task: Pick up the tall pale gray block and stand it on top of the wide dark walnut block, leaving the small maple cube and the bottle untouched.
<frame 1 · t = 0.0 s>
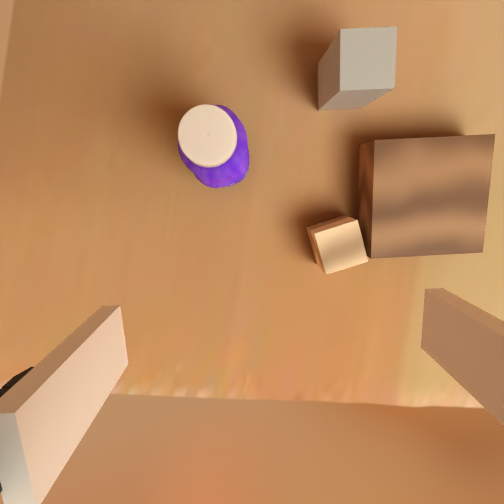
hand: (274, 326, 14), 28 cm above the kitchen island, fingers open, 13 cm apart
maple cube: (330, 239, 42), on the kitchen island
bottle: (222, 155, 40), on the kitchen island
walnut block: (408, 196, 42), on the kitchen island
pale gray block: (339, 86, 38), on the kitchen island
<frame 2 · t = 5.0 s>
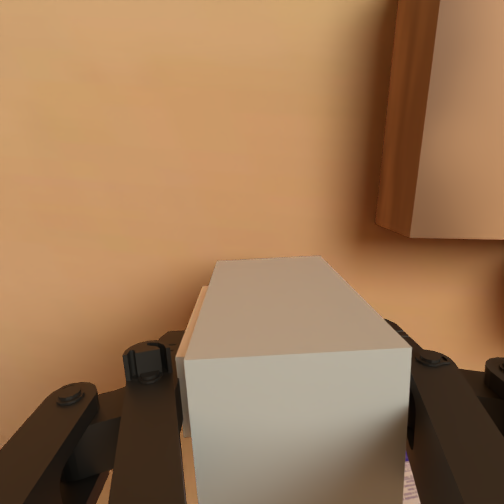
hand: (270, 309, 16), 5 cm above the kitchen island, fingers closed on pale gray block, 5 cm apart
bottle: (378, 452, 24), on the kitchen island
walnut block: (496, 113, 19), on the kitchen island
pale gray block: (270, 306, 17), point 5 cm above the kitchen island, touching gripper
when the fingers open (6 cm above the kitchen island, at t = 9.2 s): pale gray block stays where it is, point 5 cm above the kitchen island.
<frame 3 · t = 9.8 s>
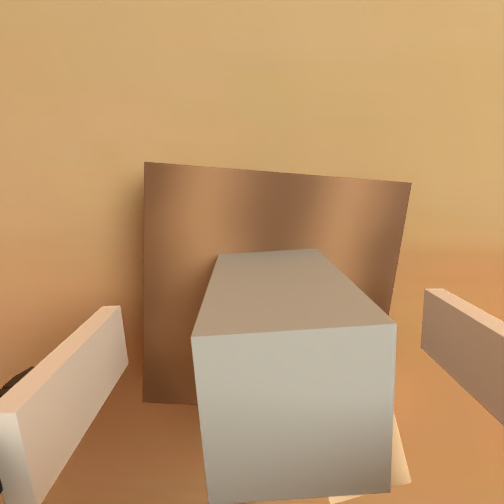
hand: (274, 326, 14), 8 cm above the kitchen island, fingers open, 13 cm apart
maple cube: (337, 403, 24), on the kitchen island
walnut block: (263, 273, 22), on the kitchen island
pale gray block: (270, 297, 17), point 5 cm above the kitchen island
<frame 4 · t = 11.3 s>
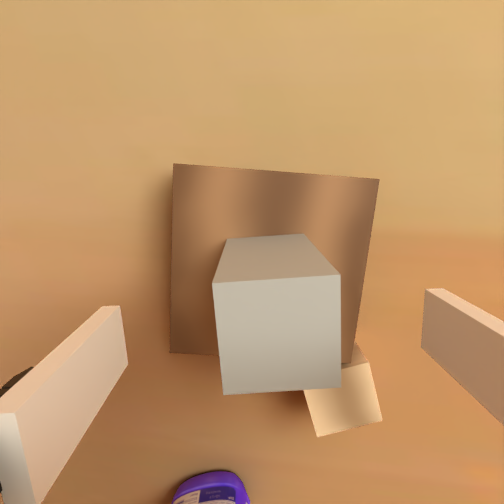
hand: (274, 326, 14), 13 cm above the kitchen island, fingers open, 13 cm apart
maple cube: (326, 363, 29), on the kitchen island
bottle: (212, 489, 32), on the kitchen island
walnut block: (264, 253, 27), on the kitchen island, touching pale gray block
pale gray block: (267, 272, 22), point 5 cm above the kitchen island, touching walnut block
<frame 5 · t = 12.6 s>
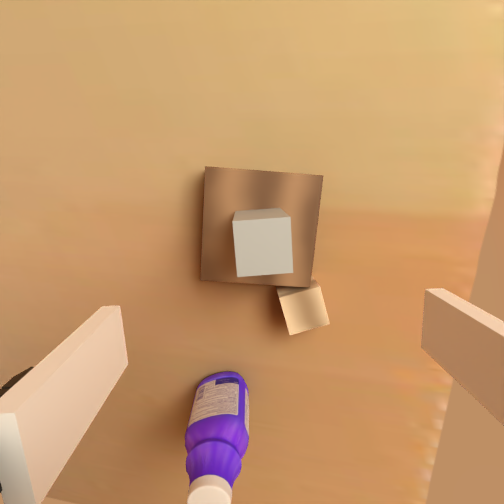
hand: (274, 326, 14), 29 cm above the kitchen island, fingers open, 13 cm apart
maple cube: (298, 296, 44), on the kitchen island
bottle: (222, 386, 47), on the kitchen island
walnut block: (258, 223, 43), on the kitchen island
pale gray block: (259, 231, 38), point 5 cm above the kitchen island
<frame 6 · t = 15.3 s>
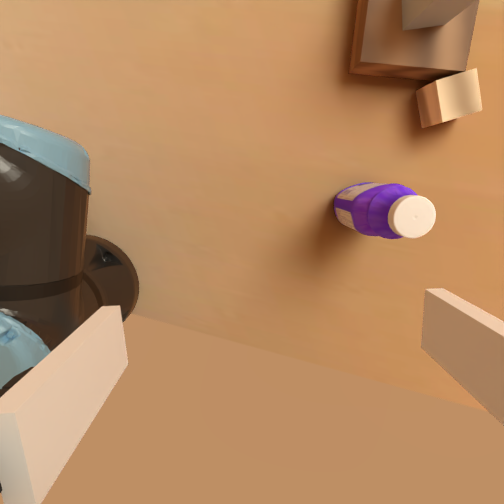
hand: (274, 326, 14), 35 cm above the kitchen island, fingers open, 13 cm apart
maple cube: (436, 104, 45), on the kitchen island
bottle: (354, 203, 48), on the kitchen island
walnut block: (403, 25, 43), on the kitchen island, touching pale gray block
pale gray block: (423, 3, 39), point 5 cm above the kitchen island, touching walnut block
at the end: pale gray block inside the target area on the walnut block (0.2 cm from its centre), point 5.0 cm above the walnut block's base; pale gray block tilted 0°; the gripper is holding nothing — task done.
